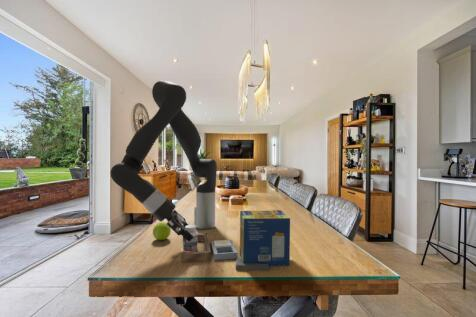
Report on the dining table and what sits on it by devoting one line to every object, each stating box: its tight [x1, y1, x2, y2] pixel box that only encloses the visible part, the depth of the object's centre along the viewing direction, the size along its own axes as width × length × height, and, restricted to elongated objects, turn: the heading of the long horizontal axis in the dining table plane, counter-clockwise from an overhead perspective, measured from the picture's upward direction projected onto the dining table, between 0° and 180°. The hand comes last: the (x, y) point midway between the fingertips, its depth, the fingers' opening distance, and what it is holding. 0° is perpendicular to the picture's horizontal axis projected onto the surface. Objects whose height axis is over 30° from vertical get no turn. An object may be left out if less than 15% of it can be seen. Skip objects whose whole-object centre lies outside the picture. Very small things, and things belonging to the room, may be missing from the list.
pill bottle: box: [182, 224, 199, 253], centre depth 86 cm, size 5×5×9 cm
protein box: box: [239, 209, 291, 267], centre depth 79 cm, size 10×15×16 cm
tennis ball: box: [152, 221, 172, 241], centre depth 96 cm, size 7×7×7 cm
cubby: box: [180, 233, 212, 263], centre depth 86 cm, size 10×19×3 cm, turn 12°
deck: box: [210, 239, 239, 261], centre depth 84 cm, size 8×12×2 cm, turn 12°
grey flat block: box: [235, 257, 270, 272], centre depth 73 cm, size 10×5×2 cm, turn 87°
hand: (191, 235), depth 86 cm, fingers open, 8 cm apart
